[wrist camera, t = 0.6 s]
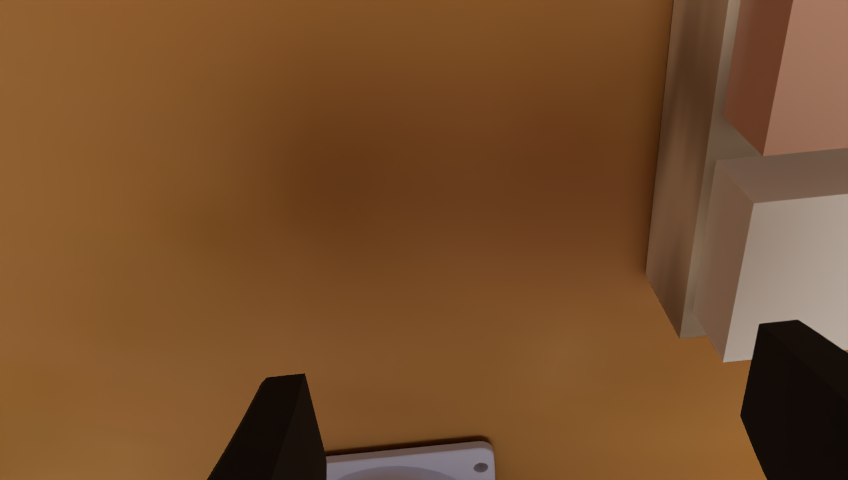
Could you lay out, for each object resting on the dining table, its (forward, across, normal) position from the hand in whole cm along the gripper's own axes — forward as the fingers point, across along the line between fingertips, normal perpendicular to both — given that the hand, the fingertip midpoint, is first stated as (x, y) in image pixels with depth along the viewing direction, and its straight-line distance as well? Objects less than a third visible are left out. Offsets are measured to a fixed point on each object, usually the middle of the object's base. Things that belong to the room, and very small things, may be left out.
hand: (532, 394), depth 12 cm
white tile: (+6, -8, +2) cm, 10 cm away
